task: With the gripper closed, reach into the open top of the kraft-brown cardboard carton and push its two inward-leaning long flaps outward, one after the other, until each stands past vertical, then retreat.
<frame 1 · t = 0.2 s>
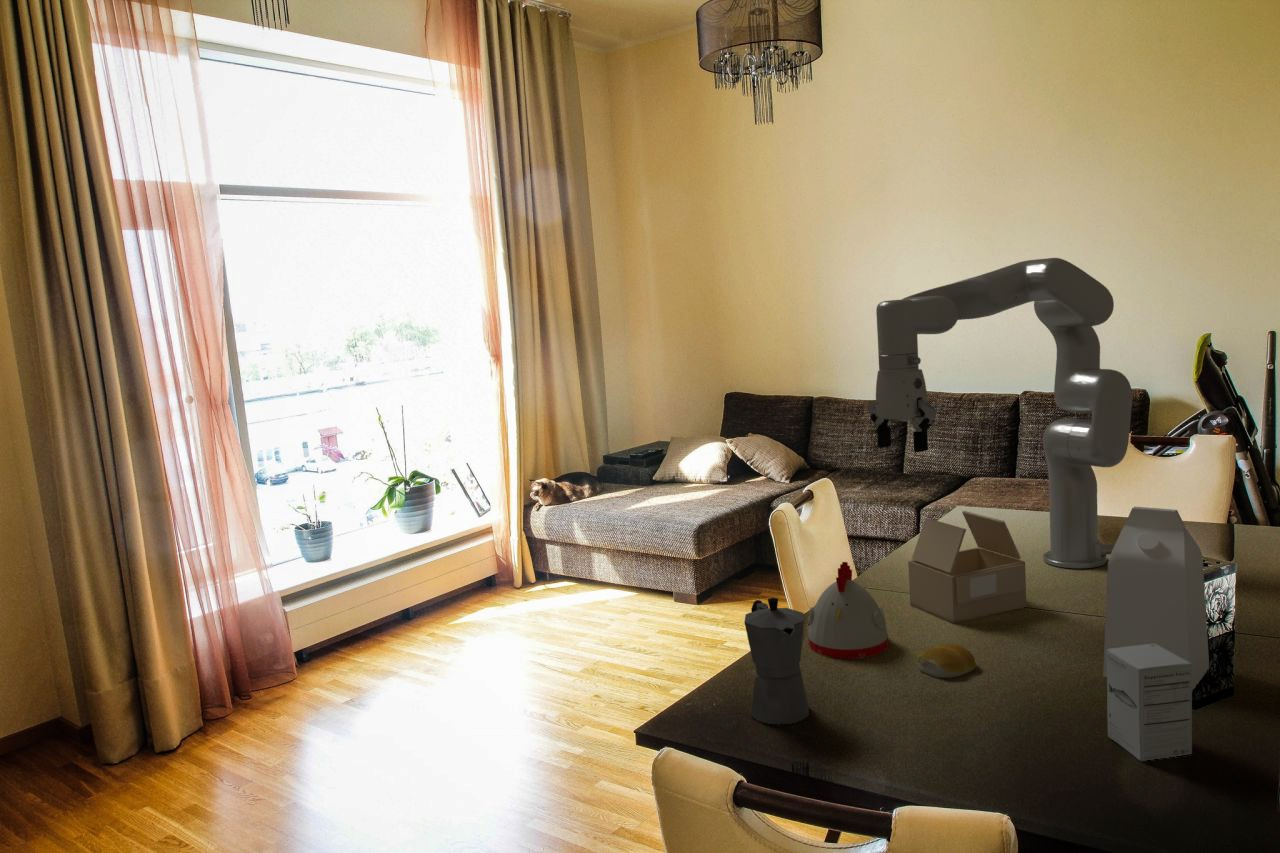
hand: (902, 449, 185), 31 cm above the table, tool pointing down, fingers open, 9 cm apart
coffeepot: (777, 711, 143), on the table
flap 1: (938, 544, 178), point 13 cm above the table, hinge at -25.0°
milk: (1156, 673, 145), on the table
bread roll: (946, 670, 153), on the table
carton: (967, 606, 182), on the table
kitchen timer: (848, 645, 167), on the table
flap 2: (990, 534, 182), point 13 cm above the table, hinge at -25.0°
supplement box: (1149, 748, 123), on the table
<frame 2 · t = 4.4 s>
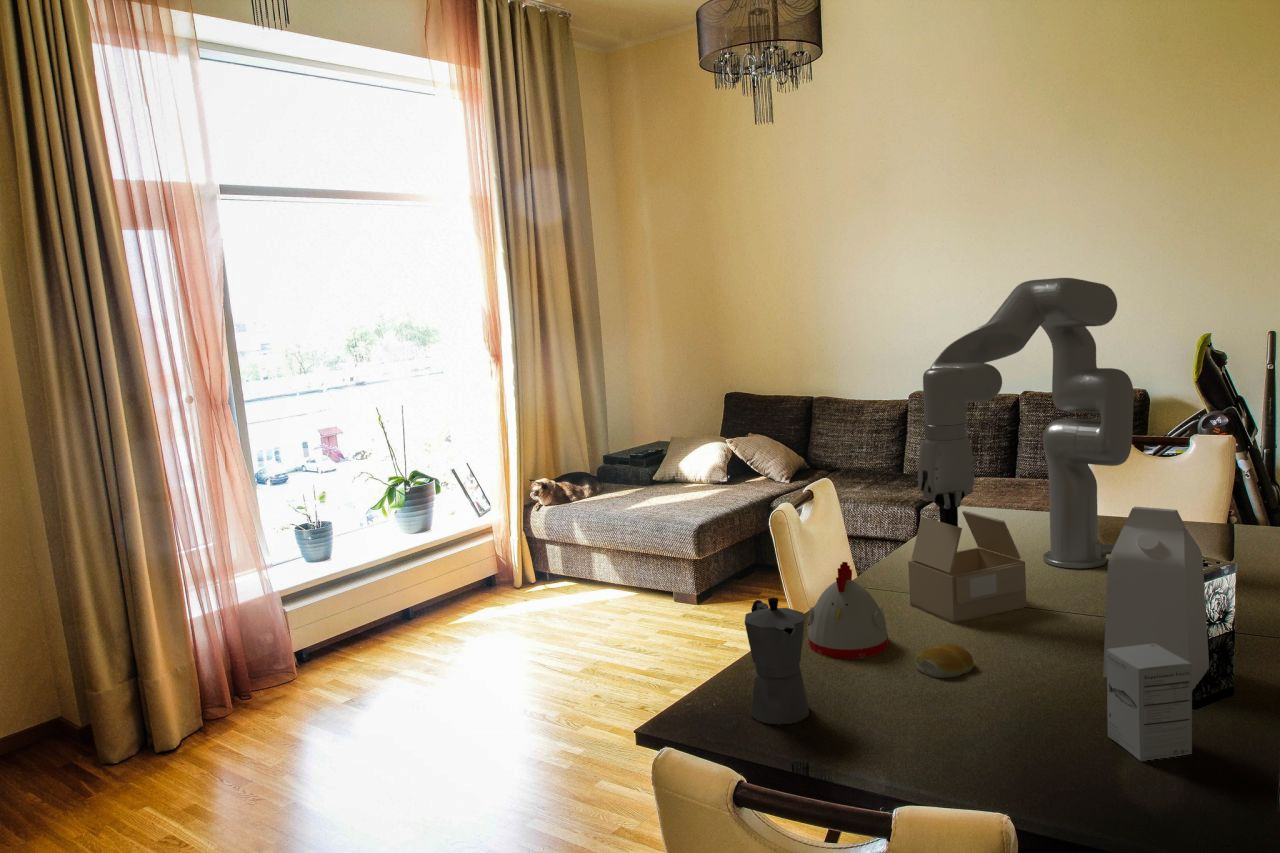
hand: (949, 527, 179), 16 cm above the table, tool pointing down, fingers closed
flap 1: (936, 544, 178), point 14 cm above the table, hinge at -18.7°, touching gripper
everything else where it was.
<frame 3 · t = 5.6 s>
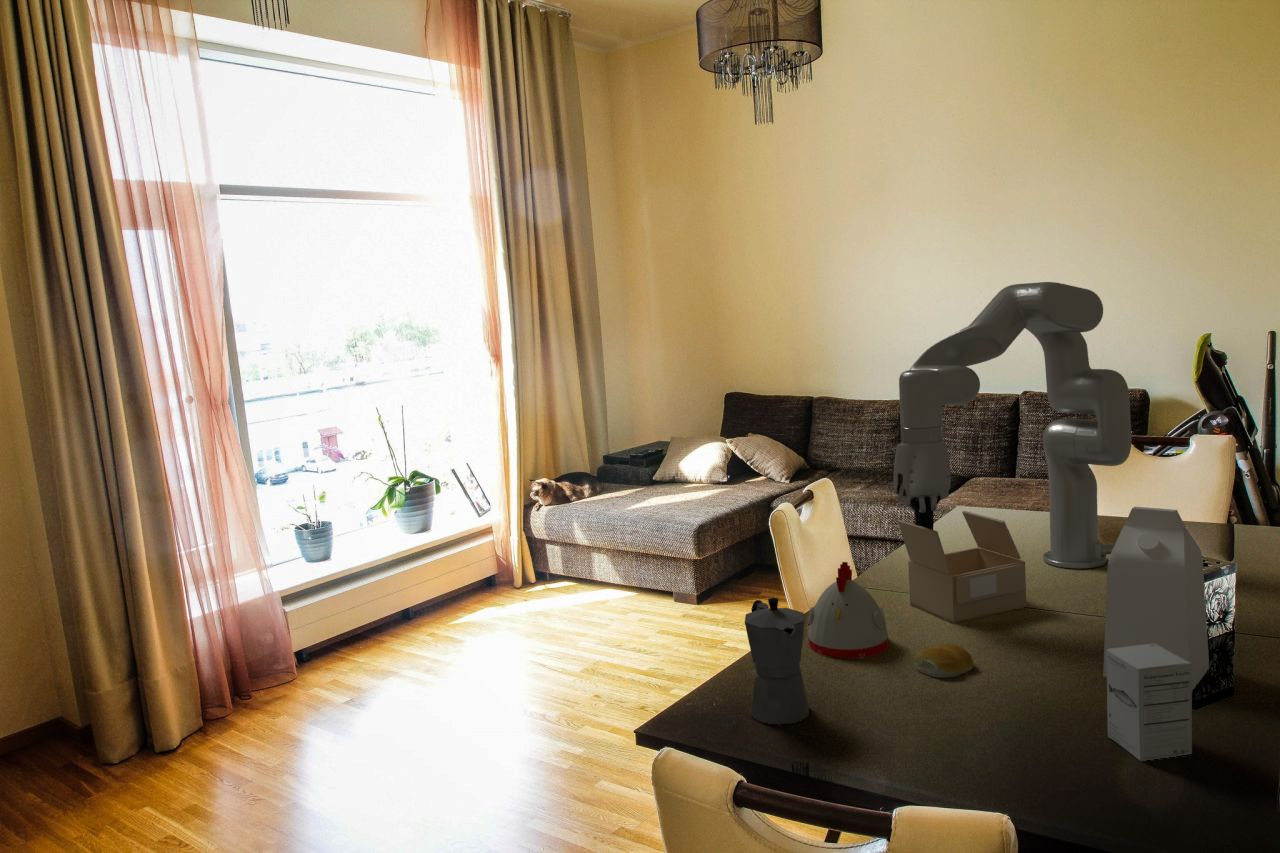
hand: (924, 531, 177), 16 cm above the table, tool pointing down, fingers closed
flap 1: (923, 546, 177), point 14 cm above the table, hinge at 16.7°, touching gripper
everything else where it was.
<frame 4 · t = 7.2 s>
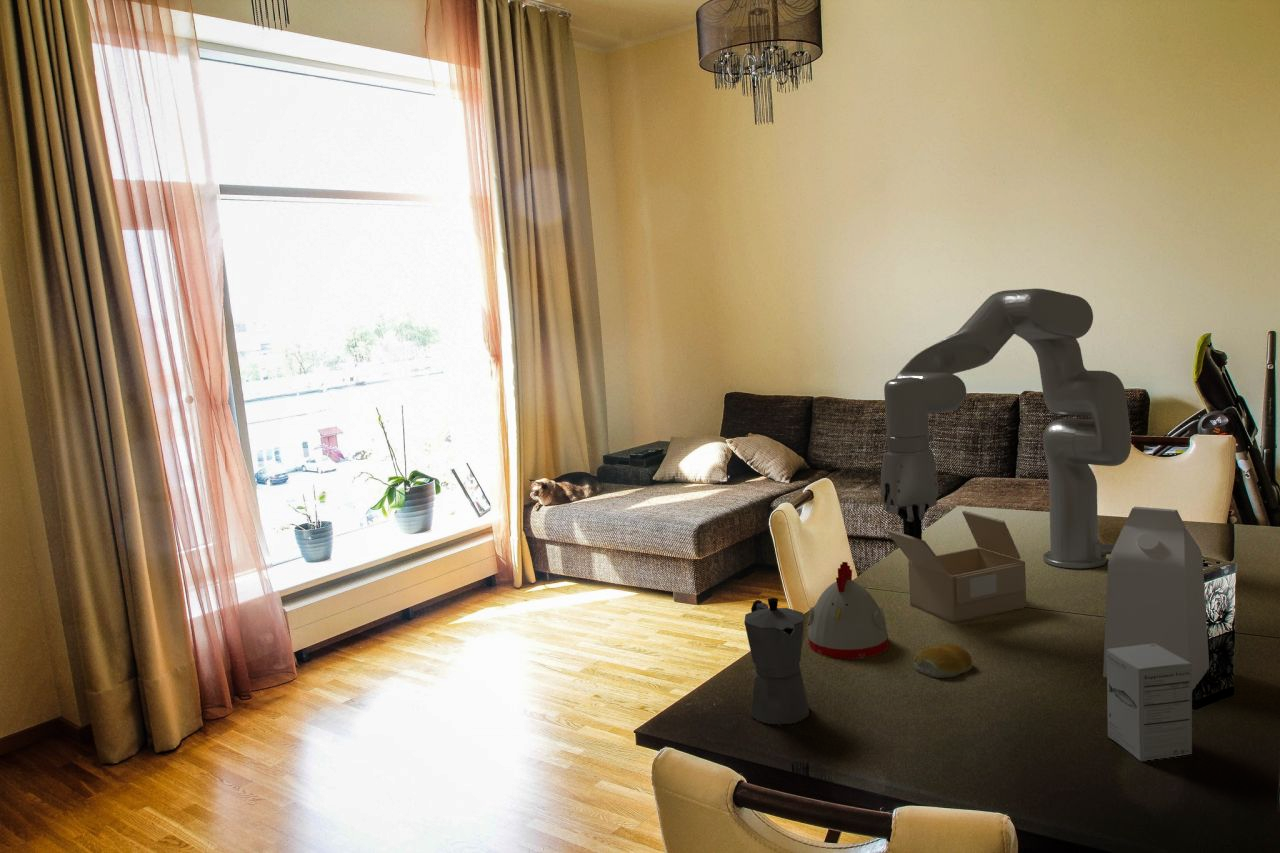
hand: (913, 539, 176), 15 cm above the table, tool pointing down, fingers closed
flap 1: (916, 551, 177), point 13 cm above the table, hinge at 36.5°, touching gripper
everything else where it was.
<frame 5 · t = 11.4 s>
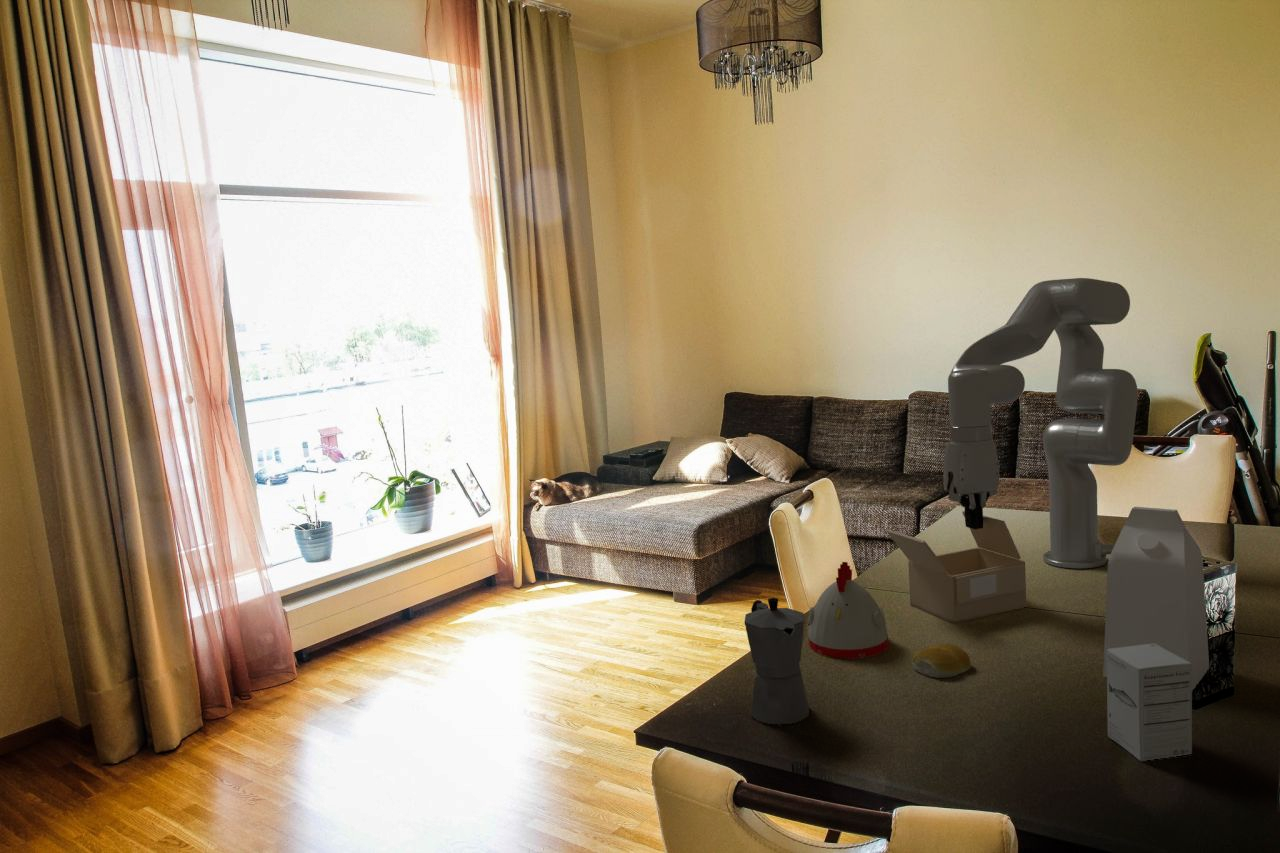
hand: (974, 527, 181), 15 cm above the table, tool pointing down, fingers closed
flap 1: (916, 551, 177), point 13 cm above the table, hinge at 36.7°
flap 2: (990, 534, 182), point 13 cm above the table, hinge at -25.0°, touching gripper
everything else where it was.
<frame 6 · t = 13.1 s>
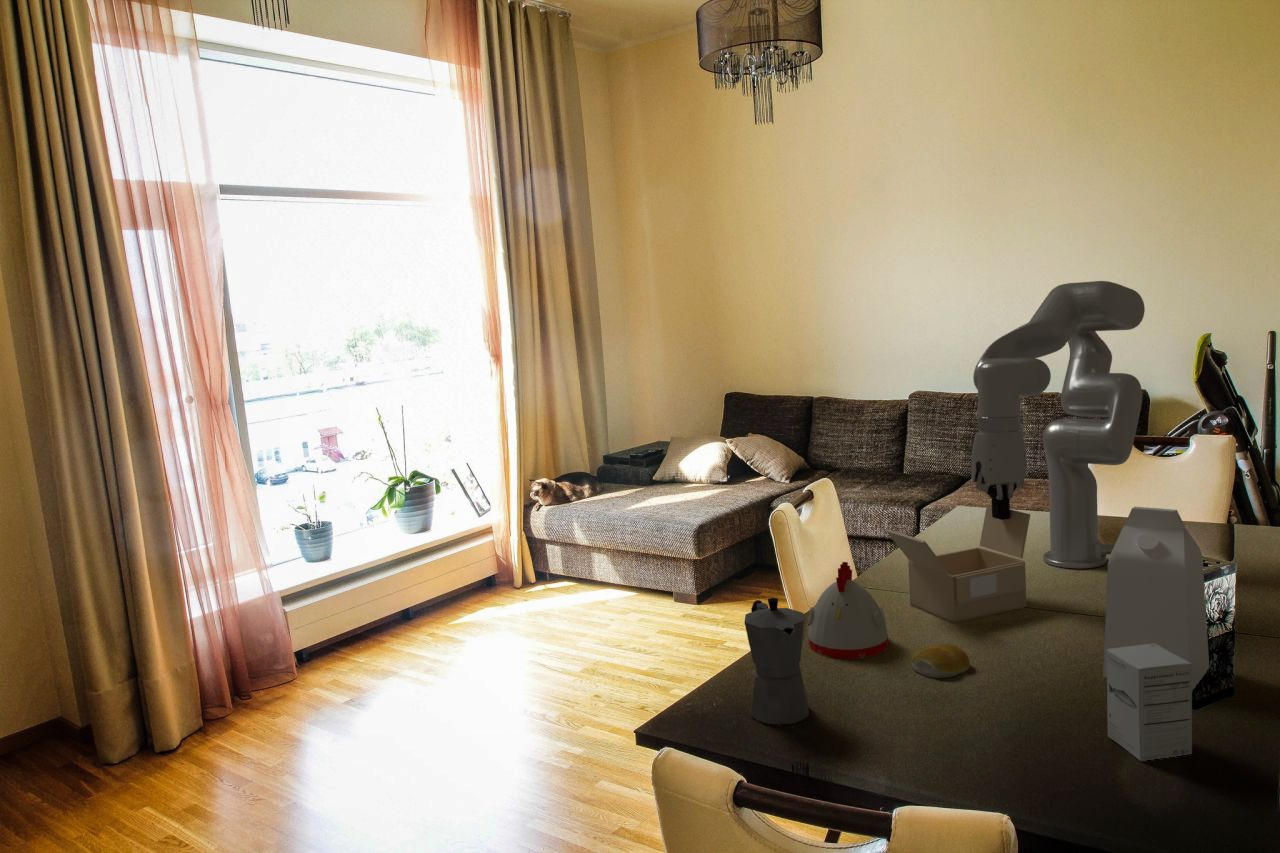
hand: (1000, 518, 183), 16 cm above the table, tool pointing down, fingers closed
flap 2: (1004, 530, 183), point 14 cm above the table, hinge at 15.1°, touching gripper
everything else where it was.
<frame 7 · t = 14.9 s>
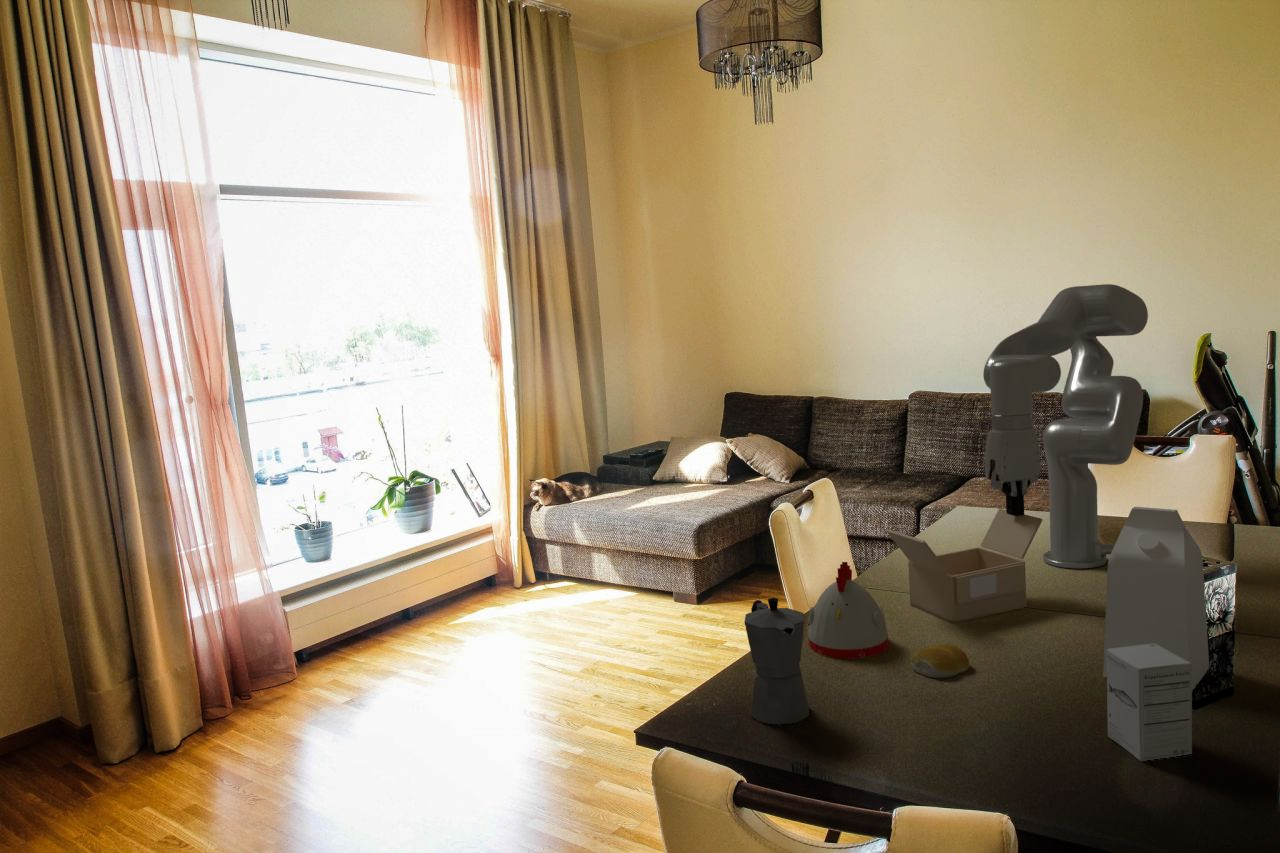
hand: (1015, 514, 184), 16 cm above the table, tool pointing down, fingers closed
flap 2: (1010, 532, 184), point 13 cm above the table, hinge at 35.7°
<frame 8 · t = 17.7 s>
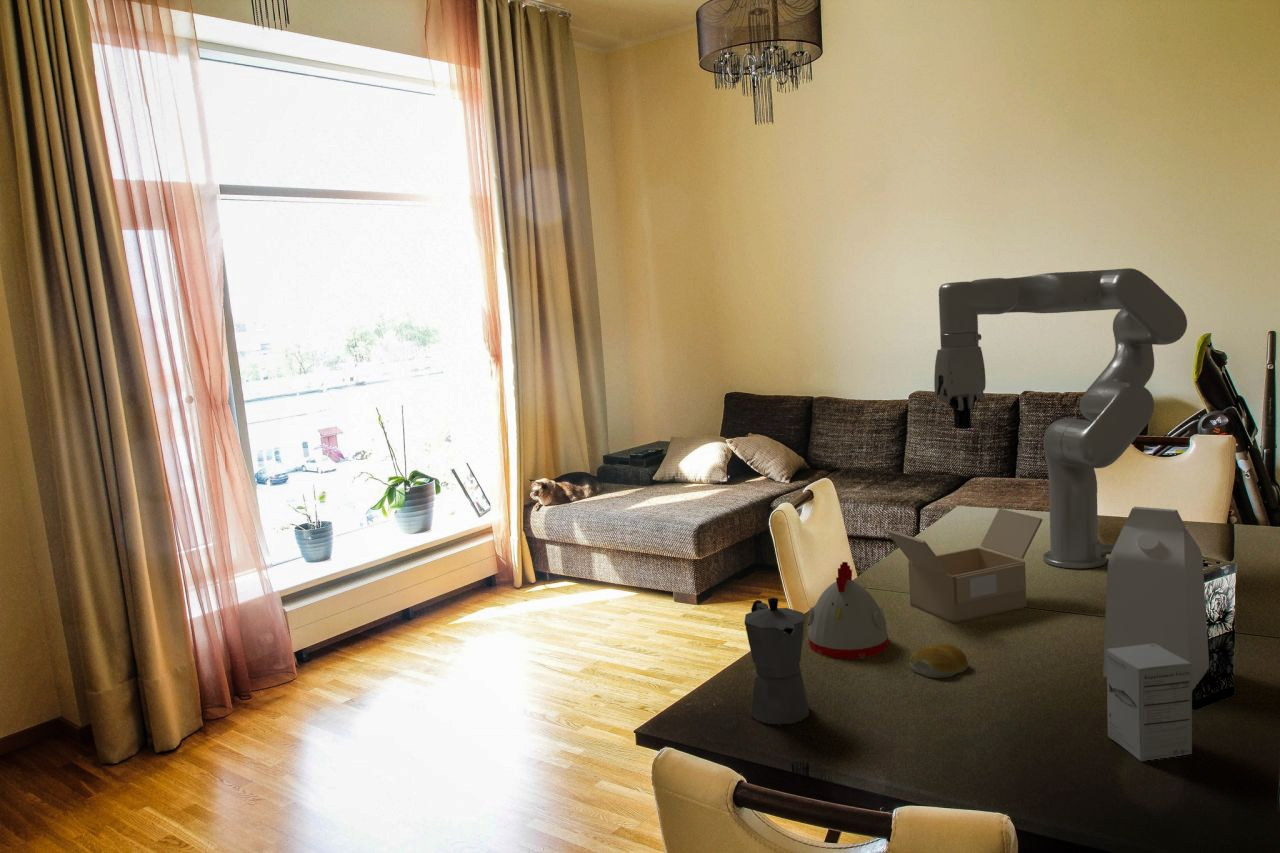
hand: (962, 428, 197), 32 cm above the table, tool pointing down, fingers closed
at the end: flap 1 at +37° (first picture: -25°); flap 2 at +36° (first picture: -25°) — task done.
